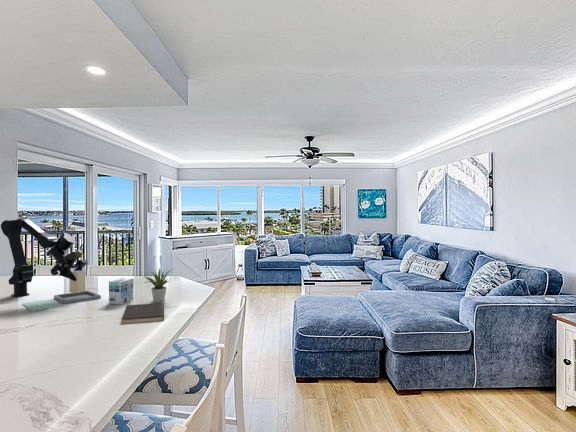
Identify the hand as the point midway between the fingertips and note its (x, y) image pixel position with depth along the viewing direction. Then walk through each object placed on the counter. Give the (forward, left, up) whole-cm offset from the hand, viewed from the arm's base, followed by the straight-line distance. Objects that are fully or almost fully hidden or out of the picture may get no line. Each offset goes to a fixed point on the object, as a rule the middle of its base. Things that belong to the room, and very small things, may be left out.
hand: (79, 279), depth 191 cm
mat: (+2, -17, -10) cm, 19 cm away
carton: (-1, -1, -6) cm, 6 cm away
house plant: (+29, +27, -10) cm, 41 cm away
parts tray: (-1, -1, -10) cm, 10 cm away
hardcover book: (+48, +9, -11) cm, 50 cm away
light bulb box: (+19, +12, -10) cm, 25 cm away
